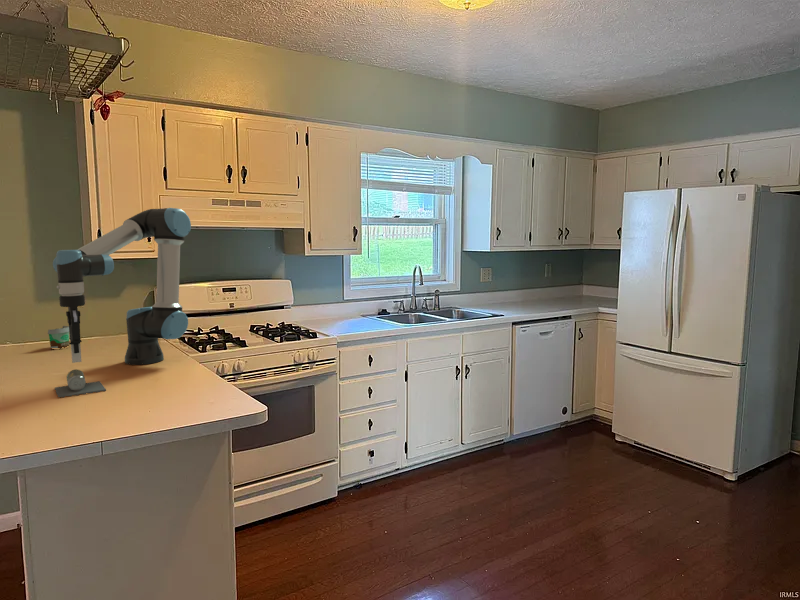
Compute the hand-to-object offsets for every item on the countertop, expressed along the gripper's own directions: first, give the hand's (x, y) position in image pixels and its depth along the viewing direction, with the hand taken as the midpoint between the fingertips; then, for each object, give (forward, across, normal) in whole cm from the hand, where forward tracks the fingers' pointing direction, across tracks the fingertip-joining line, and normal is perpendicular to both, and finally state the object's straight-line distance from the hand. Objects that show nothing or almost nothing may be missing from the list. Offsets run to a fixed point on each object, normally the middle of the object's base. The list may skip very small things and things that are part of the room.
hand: (76, 361), depth 195 cm
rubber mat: (+9, +3, 0) cm, 10 cm away
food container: (+10, -90, +3) cm, 90 cm away
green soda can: (+6, -5, 0) cm, 8 cm away
